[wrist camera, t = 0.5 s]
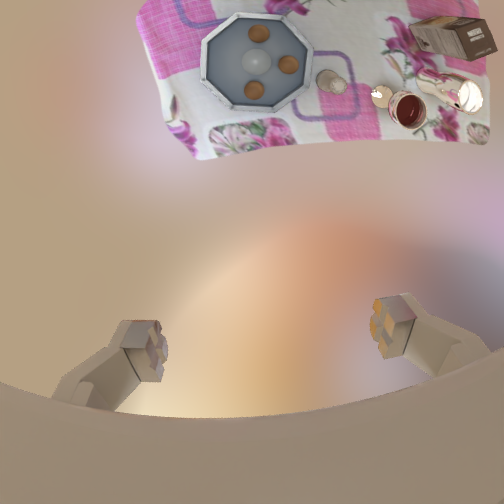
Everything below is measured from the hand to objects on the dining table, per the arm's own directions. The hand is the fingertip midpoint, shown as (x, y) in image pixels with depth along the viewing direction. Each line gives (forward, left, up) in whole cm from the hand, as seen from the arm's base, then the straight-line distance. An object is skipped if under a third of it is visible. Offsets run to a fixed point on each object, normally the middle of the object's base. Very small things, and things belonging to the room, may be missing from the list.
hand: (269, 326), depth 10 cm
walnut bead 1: (-9, -9, -47) cm, 48 cm away
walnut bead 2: (-1, -1, -47) cm, 47 cm away
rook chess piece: (-13, +6, -48) cm, 50 cm away
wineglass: (-21, +15, -48) cm, 54 cm away
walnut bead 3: (-9, -1, -47) cm, 47 cm away
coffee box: (-40, +8, -48) cm, 63 cm away
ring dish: (-5, -5, -48) cm, 48 cm away
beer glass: (-33, +17, -48) cm, 60 cm away
